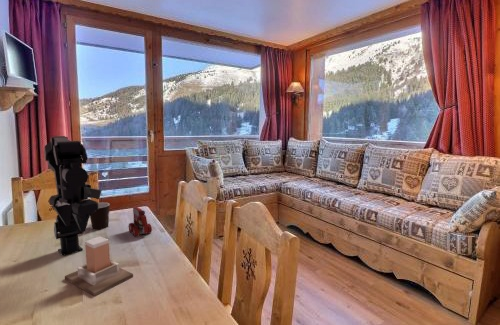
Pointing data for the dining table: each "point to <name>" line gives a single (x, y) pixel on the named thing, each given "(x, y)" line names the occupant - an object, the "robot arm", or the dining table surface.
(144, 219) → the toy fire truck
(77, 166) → the robot arm
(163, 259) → the dining table surface
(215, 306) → the dining table surface
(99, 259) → the tan box white top
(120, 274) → the square socket base
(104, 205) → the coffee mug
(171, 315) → the dining table surface
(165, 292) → the dining table surface
